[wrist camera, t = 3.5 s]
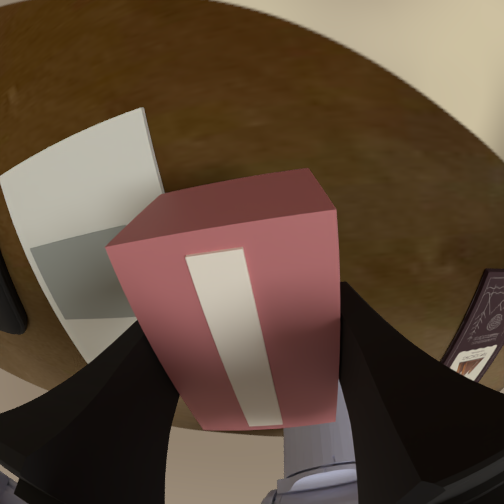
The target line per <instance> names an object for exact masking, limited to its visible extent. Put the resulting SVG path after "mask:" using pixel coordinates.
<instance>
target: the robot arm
mask: <svg viewBox="0 0 504 504" xmlns="http://www.w3.org/2000/svg"><path fill="white" fill-rule="evenodd" d="M179 395H180V394H179V392H178V391H177V389H176V388H175V386H174V384H173V383H172V381H171V380H170V378H169V376H168V375H167V373H166V371H165V369H164V368H163V366H162V364H161V363H160V361H159V359H158V357H157V356H156V354H155V352H154V350H153V348H152V347H151V345H150V343H149V341H148V339H147V337H146V335H145V333H144V332H143V330H142V328H141V326H140V324H139V322H138V320H136V321H135V322H134V323H133V324H132V325H131V326H130V327H129V328H128V329H127V330H126V331H125V332H124V333H123V334H122V335H120V336H119V337H118V338H117V339H116V340H115V341H114V342H113V343H112V344H111V345H110V346H108V347H107V348H106V349H105V350H104V351H103V352H102V353H100V354H99V355H98V356H97V357H96V358H95V359H94V360H92V361H91V362H90V363H89V364H87V365H86V366H85V367H84V368H82V369H81V370H80V371H78V372H77V373H76V374H74V375H73V376H72V377H70V378H69V379H67V380H66V381H64V382H63V383H61V384H59V385H58V386H56V387H55V388H53V389H51V390H50V391H48V392H47V393H45V394H43V395H41V396H40V397H38V398H36V399H34V400H32V401H30V402H28V403H26V404H23V405H21V406H19V407H17V408H15V409H12V410H9V411H6V412H4V413H1V414H0V464H1V465H2V466H3V467H4V468H6V469H7V470H9V471H10V472H11V473H13V474H14V475H16V476H17V477H19V481H18V483H17V482H15V481H14V480H12V479H11V478H9V477H8V476H6V475H5V474H4V473H2V472H1V471H0V504H165V471H166V459H167V450H168V442H169V434H170V430H171V425H172V421H173V417H174V413H175V410H176V406H177V402H178V399H179ZM261 504H504V394H503V393H500V392H498V391H495V390H493V389H491V388H488V387H486V386H484V385H482V384H479V383H477V382H475V381H473V380H471V379H469V378H467V377H465V376H463V375H461V374H460V373H458V372H456V371H454V370H453V369H451V368H449V367H447V366H446V365H444V364H442V363H440V362H439V361H437V360H436V359H434V358H433V357H431V356H430V355H428V354H427V353H425V352H424V351H422V350H421V349H420V348H418V347H417V346H415V345H414V344H413V343H412V342H410V341H409V340H408V339H406V338H405V337H404V336H403V335H402V334H400V333H399V332H398V331H397V330H396V329H394V328H393V327H392V326H391V325H390V324H389V323H388V322H386V321H385V320H384V319H383V318H382V317H381V316H380V315H379V314H378V313H377V312H376V311H375V310H374V309H373V308H372V307H371V306H370V305H369V304H368V303H367V302H366V301H365V300H364V299H363V298H362V297H361V296H360V295H359V294H358V293H357V292H356V291H355V290H354V289H353V288H352V287H351V286H350V285H349V284H348V283H347V282H346V281H345V282H340V357H339V380H338V396H337V410H336V421H335V422H330V423H323V424H316V425H308V426H300V427H290V428H284V479H279V480H277V489H275V490H271V491H270V492H269V493H268V494H267V496H266V497H265V498H264V499H263V501H262V503H261Z"/></svg>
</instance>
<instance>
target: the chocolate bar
mask: <svg viewBox="0 0 504 504" xmlns="http://www.w3.org/2000/svg"><path fill="white" fill-rule="evenodd" d="M503 345H504V269H485V272H484V274H483V277H482V279H481V282H480V284H479V287H478V289H477V292H476V294H475V296H474V298H473V301H472V303H471V305H470V307H469V309H468V312H467V314H466V316H465V318H464V320H463V322H462V324H461V326H460V328H459V330H458V332H457V334H456V336H455V337H454V339H453V341H452V343H451V345H450V347H449V348H448V350H447V352H446V354H445V355H444V357H443V359H442V360H441V362H440V363H442V364H444V365H446V366H447V367H449V368H451V369H453V370H454V371H456V372H458V373H460V374H461V375H463V376H465V377H467V378H469V379H471V380H473V381H475V382H477V383H478V382H479V381H480V379H481V378H482V377H483V375H484V374H485V372H486V371H487V369H488V368H489V367H490V365H491V364H492V362H493V361H494V359H495V358H496V356H497V354H498V353H499V351H500V350H501V348H502V346H503Z"/></svg>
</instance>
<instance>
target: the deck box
mask: <svg viewBox="0 0 504 504" xmlns="http://www.w3.org/2000/svg"><path fill="white" fill-rule="evenodd" d="M105 249H106V251H107V254H108V256H109V259H110V261H111V264H112V266H113V268H114V271H115V273H116V275H117V277H118V280H119V282H120V284H121V286H122V289H123V291H124V293H125V295H126V297H127V299H128V302H129V304H130V306H131V308H132V310H133V312H134V314H135V316H136V318H137V320H138V322H139V324H140V326H141V328H142V330H143V332H144V333H145V335H146V337H147V339H148V341H149V343H150V345H151V347H152V348H153V350H154V352H155V354H156V356H157V357H158V359H159V361H160V363H161V364H162V366H163V368H164V369H165V371H166V373H167V375H168V376H169V378H170V380H171V381H172V383H173V384H174V386H175V388H176V389H177V391H178V392H179V394H180V396H181V397H182V399H183V400H184V402H185V403H186V405H187V406H188V408H189V409H190V411H191V412H192V414H193V415H194V417H195V418H196V420H197V421H198V423H199V424H200V426H201V427H202V428H203V430H263V429H278V428H290V427H300V426H308V425H316V424H323V423H330V422H335V421H336V410H337V396H338V380H339V357H340V267H339V244H338V227H337V213H336V208H335V207H334V205H333V204H332V202H331V201H330V199H329V198H328V196H327V195H326V193H325V192H324V190H323V189H322V187H321V186H320V184H319V183H318V181H317V180H316V178H315V177H314V176H313V174H312V173H311V171H310V170H309V168H304V169H296V170H289V171H282V172H276V173H269V174H263V175H257V176H250V177H245V178H239V179H233V180H228V181H222V182H217V183H212V184H207V185H202V186H197V187H192V188H187V189H182V190H178V191H173V192H169V193H164V194H160V195H159V196H158V197H157V198H156V199H155V200H154V201H152V202H151V203H150V204H149V205H148V206H147V207H146V208H145V209H144V210H143V211H141V212H140V213H139V214H138V215H137V216H136V217H135V218H134V219H133V220H132V221H131V222H130V223H129V224H128V225H127V226H126V227H125V228H124V229H122V230H121V231H120V232H119V233H118V234H117V235H116V236H115V237H114V238H113V239H112V240H111V241H110V242H109V243H108V244H107V245H106V246H105Z"/></svg>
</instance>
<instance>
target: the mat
mask: <svg viewBox="0 0 504 504" xmlns="http://www.w3.org/2000/svg"><path fill="white" fill-rule="evenodd" d="M0 183H1V187H2V190H3V194H4V197H5V200H6V203H7V206H8V209H9V212H10V215H11V218H12V221H13V224H14V226H15V229H16V232H17V234H18V237H19V239H20V242H21V244H22V247H23V249H24V251H25V254H26V256H27V258H28V260H29V263H30V265H31V267H32V269H33V271H34V273H35V275H36V278H37V280H38V282H39V284H40V286H41V288H42V289H43V291H44V293H45V295H46V297H47V299H48V301H49V303H50V305H51V306H52V308H53V310H54V312H55V313H56V315H57V317H58V319H59V320H60V322H61V324H62V325H63V327H64V329H65V330H66V332H67V333H68V335H69V337H70V338H71V340H72V341H73V343H74V344H75V346H76V347H77V349H78V350H79V352H80V353H81V355H82V356H83V358H84V359H85V361H86V362H87V363H88V364H89V363H90V362H91V361H92V360H94V359H95V358H96V357H97V356H98V355H99V354H100V353H102V352H103V351H104V350H105V349H106V348H107V347H108V346H110V345H111V344H112V343H113V342H114V341H115V340H116V339H117V338H118V337H119V336H120V335H122V334H123V333H124V332H125V331H126V330H127V329H128V328H129V327H130V326H131V325H132V324H133V323H134V322H135V321H136V320H137V318H136V316H135V314H134V312H133V310H132V308H131V306H130V304H129V302H128V299H127V297H126V295H125V293H124V291H123V289H122V286H121V284H120V282H119V280H118V277H117V275H116V273H115V271H114V268H113V266H112V264H111V261H110V259H109V256H108V254H107V251H106V249H105V246H106V245H107V244H108V243H109V242H110V241H111V240H112V239H113V238H114V237H115V236H116V235H117V234H118V233H119V232H120V231H121V230H122V229H124V228H125V227H126V226H127V225H128V224H129V223H130V222H131V221H132V220H133V219H134V218H135V217H136V216H137V215H138V214H139V213H140V212H141V211H143V210H144V209H145V208H146V207H147V206H148V205H149V204H150V203H151V202H152V201H154V200H155V199H156V198H157V197H158V196H159V195H160V194H164V193H165V192H164V188H163V185H162V181H161V177H160V173H159V169H158V166H157V162H156V158H155V154H154V150H153V146H152V141H151V137H150V133H149V129H148V124H147V120H146V115H145V111H144V108H138V109H136V110H133V111H130V112H127V113H125V114H122V115H119V116H117V117H114V118H112V119H109V120H107V121H104V122H102V123H99V124H97V125H95V126H92V127H90V128H88V129H86V130H83V131H81V132H79V133H77V134H75V135H73V136H70V137H68V138H66V139H64V140H62V141H60V142H58V143H56V144H54V145H52V146H50V147H49V148H47V149H45V150H43V151H41V152H39V153H37V154H36V155H34V156H32V157H30V158H29V159H27V160H25V161H23V162H22V163H20V164H18V165H17V166H15V167H14V168H12V169H10V170H9V171H7V172H6V173H4V174H3V175H1V176H0Z"/></svg>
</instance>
